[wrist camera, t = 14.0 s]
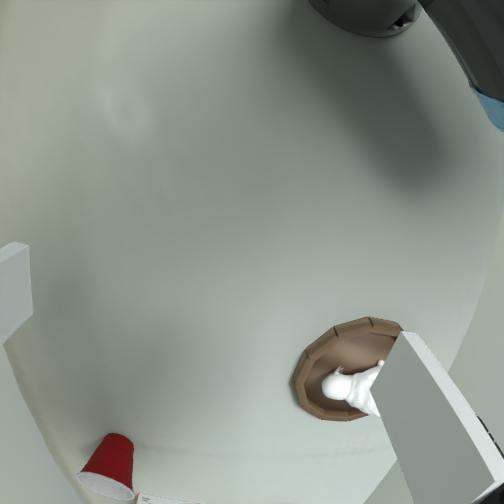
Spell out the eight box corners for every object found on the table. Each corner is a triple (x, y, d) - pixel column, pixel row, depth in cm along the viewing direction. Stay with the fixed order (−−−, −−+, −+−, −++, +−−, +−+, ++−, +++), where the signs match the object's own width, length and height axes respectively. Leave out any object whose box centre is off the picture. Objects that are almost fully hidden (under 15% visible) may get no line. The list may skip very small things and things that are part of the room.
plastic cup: (111, 456, 51) (96, 499, 40) (85, 423, 48) (64, 469, 36) (155, 458, 50) (144, 506, 39) (132, 425, 47) (114, 477, 36)
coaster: (322, 307, 39) (326, 314, 37) (430, 328, 41) (436, 335, 39) (278, 406, 45) (279, 415, 43) (377, 414, 47) (381, 422, 45)
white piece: (401, 427, 35) (319, 428, 36) (387, 389, 43) (315, 386, 44) (419, 395, 33) (332, 395, 34) (401, 358, 41) (325, 353, 42)
